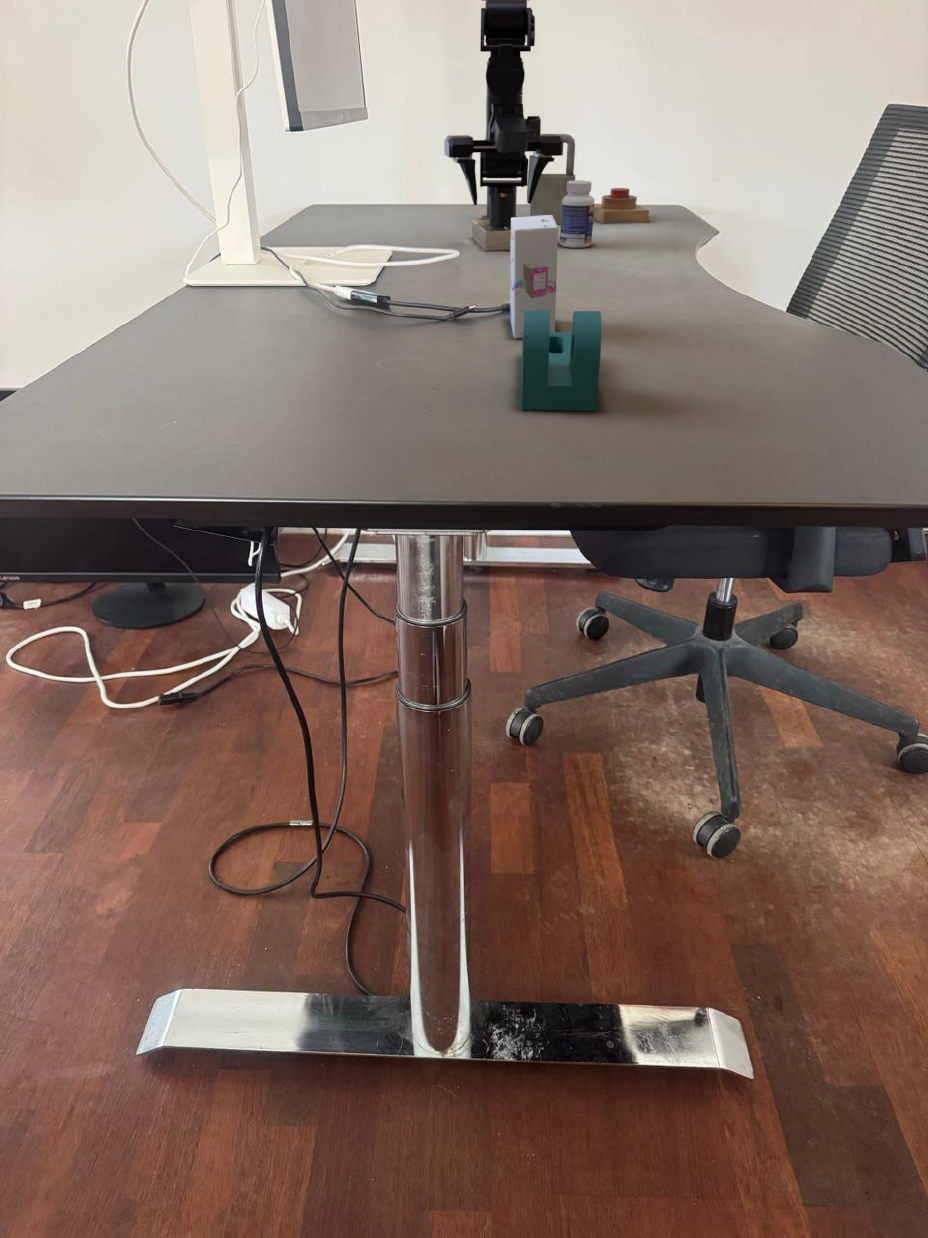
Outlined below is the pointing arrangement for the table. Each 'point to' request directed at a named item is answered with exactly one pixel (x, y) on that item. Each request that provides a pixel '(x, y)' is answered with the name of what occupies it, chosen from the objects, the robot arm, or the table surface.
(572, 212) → the pill bottle
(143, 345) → the table surface
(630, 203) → the wooden button base
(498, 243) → the beige flat rectangular block
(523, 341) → the bracket
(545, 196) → the padlock
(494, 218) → the knob
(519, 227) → the ink box
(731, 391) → the table surface
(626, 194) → the button
